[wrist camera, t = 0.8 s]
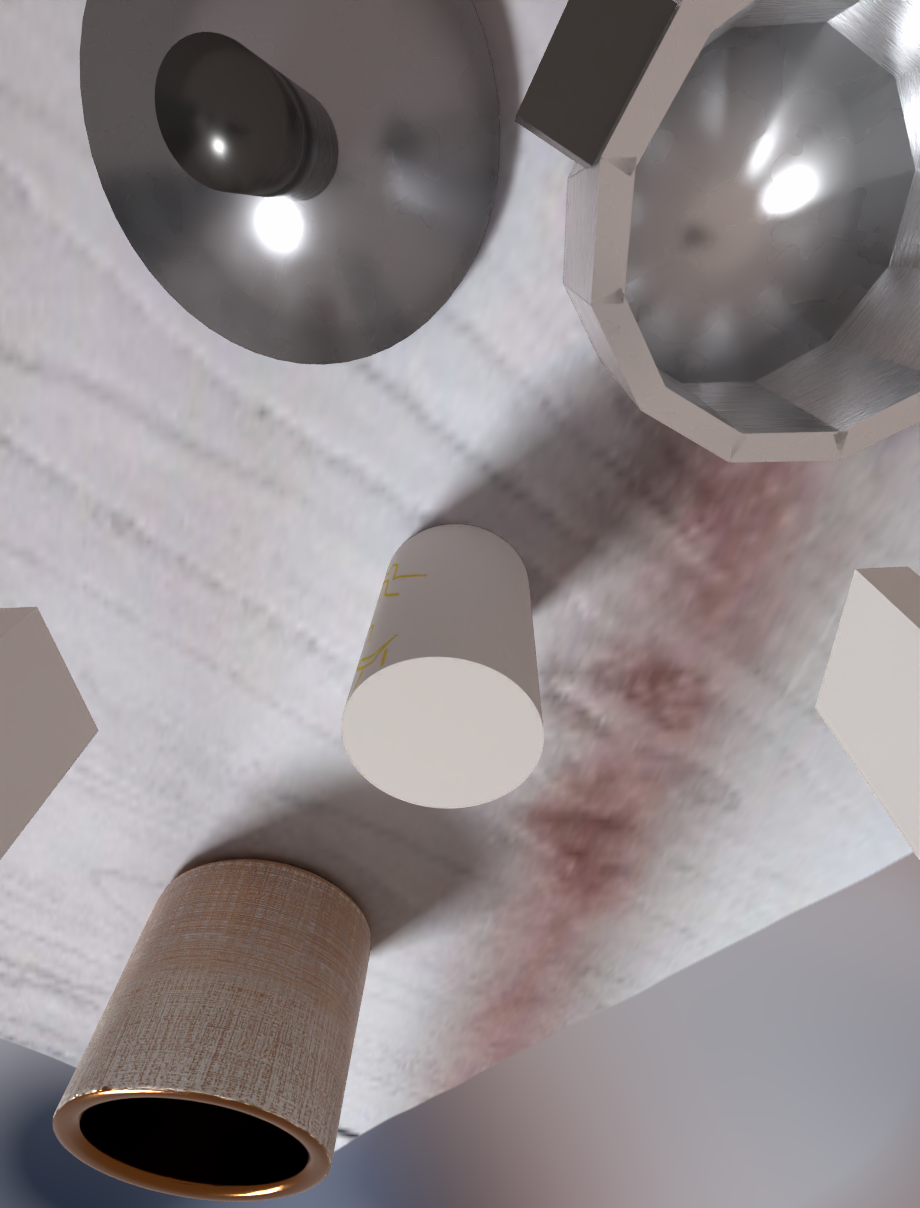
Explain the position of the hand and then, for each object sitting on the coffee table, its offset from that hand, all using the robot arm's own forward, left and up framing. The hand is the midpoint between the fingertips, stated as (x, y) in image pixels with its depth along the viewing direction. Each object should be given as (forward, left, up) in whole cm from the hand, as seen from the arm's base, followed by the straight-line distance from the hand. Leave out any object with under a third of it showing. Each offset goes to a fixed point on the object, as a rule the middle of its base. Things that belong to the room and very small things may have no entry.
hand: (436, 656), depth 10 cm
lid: (-10, +5, -22) cm, 25 cm away
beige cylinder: (+5, -10, -22) cm, 25 cm away
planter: (+6, -46, -22) cm, 52 cm away
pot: (+7, +11, -22) cm, 25 cm away
